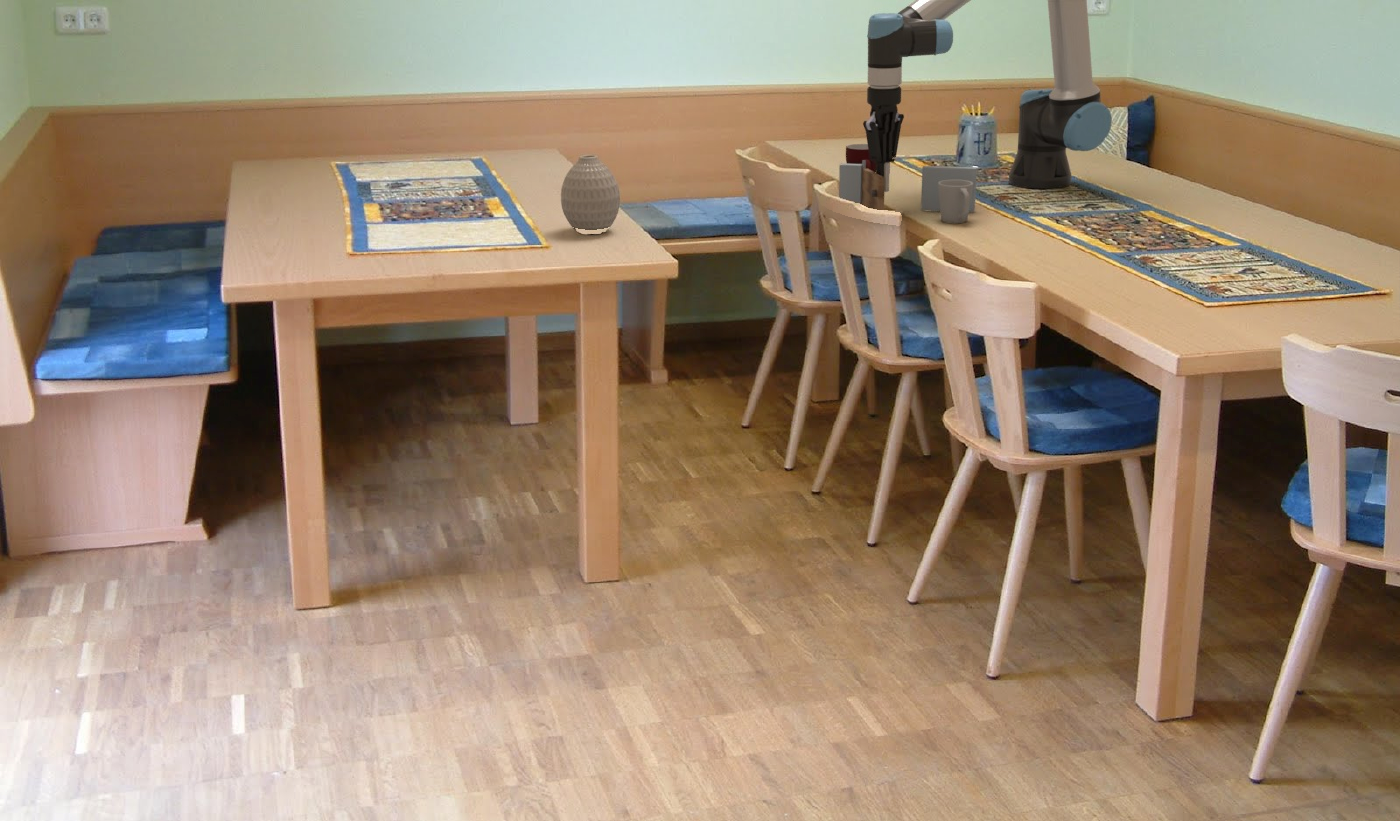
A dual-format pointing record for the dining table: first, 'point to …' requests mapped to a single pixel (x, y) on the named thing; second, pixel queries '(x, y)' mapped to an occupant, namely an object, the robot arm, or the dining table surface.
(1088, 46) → the robot arm
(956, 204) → the cup
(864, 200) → the door
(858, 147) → the mug
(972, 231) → the dining table surface
